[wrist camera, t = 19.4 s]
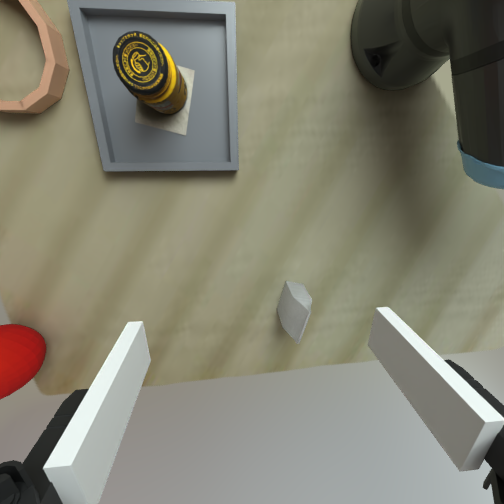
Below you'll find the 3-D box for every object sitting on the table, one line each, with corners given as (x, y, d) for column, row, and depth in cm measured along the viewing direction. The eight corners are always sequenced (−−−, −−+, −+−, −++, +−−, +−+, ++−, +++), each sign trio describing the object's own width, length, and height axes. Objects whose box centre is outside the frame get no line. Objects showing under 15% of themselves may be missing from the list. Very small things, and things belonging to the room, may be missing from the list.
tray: (234, 12, 33) (235, 2, 31) (238, 169, 41) (238, 170, 39) (77, 5, 32) (65, -7, 29) (111, 170, 39) (103, 171, 37)
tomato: (3, 360, 50) (-64, 423, 39) (-18, 312, 46) (-100, 366, 34) (68, 358, 52) (22, 418, 40) (54, 310, 47) (-3, 362, 36)
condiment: (194, 70, 35) (179, 32, 24) (186, 135, 38) (168, 128, 27) (140, 54, 33) (97, 5, 22) (135, 122, 36) (95, 109, 25)
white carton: (276, 309, 52) (287, 342, 43) (285, 280, 50) (299, 310, 40) (293, 311, 53) (307, 345, 43) (302, 283, 50) (320, 313, 41)
